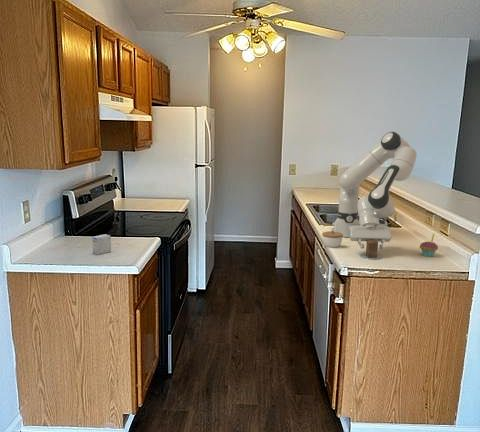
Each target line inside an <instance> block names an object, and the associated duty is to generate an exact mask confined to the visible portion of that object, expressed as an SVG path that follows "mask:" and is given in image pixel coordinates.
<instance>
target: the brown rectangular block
mask: <svg viewBox="0 0 480 432" xmlns="http://www.w3.org/2000/svg"><path fill="white" fill-rule="evenodd" d="M365 245H366V246H365V248H366V249H365V254H366V256H367V257H368V258H377V255H378V251H379V250H378V247H379V242H377V241H376V240H367V241H366V244H365Z"/></svg>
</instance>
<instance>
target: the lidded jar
mask: <svg viewBox="0 0 480 432" xmlns="http://www.w3.org/2000/svg"><path fill="white" fill-rule="evenodd" d="M321 236H322V243H323V245H324V246H325V247H326V248H333V249H334V248H339V247H340V246H341V244H342V243H343V237H342V236H343V234H342V233H339V232H334V231H333V230H332V231H331V230H330V231H324V232H322V235H321Z"/></svg>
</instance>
